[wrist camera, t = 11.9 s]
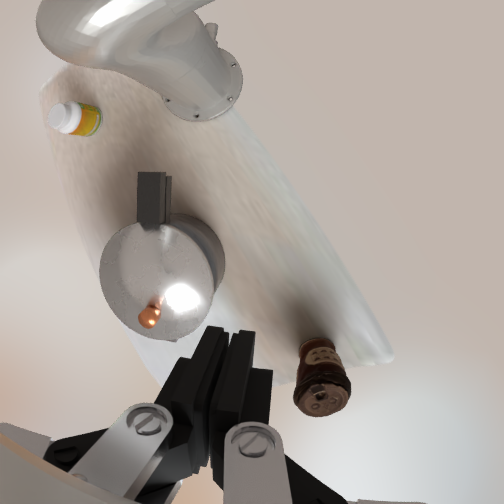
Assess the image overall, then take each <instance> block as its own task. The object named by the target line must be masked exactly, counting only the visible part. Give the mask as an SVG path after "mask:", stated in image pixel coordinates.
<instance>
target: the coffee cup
mask: <svg viewBox="0 0 504 504" xmlns="http://www.w3.org/2000/svg"><path fill="white" fill-rule="evenodd" d="M299 357H300V364H299V366H298V369H297V378H296V379H297V381H296V388H295V391H294V395H293V400H294V403H295V405H296V406H297V407H298V408H299V409H300V410H301V411H302V412H303V413H304V414H306V415H308V416H312V417H323V416H328V415H331V414H333V413H335V412H338V411H340V410H341V409H343V408H344V407H345V406H346V404H347V402H348V400H349V398H350V395H351V382H350V381H349V379H348V377H347V376H346V372H345V369H344V367H343V365H342V362H341V359H340V357H339V356H338V354H337V353H336V350H335V346H334V344H333V343H332V342H330V341H329V340H327V339H323V338H316V339H312V340H308V341H307V342H306V343H304V344H302V346H301V349H300V350H299Z"/></svg>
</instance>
